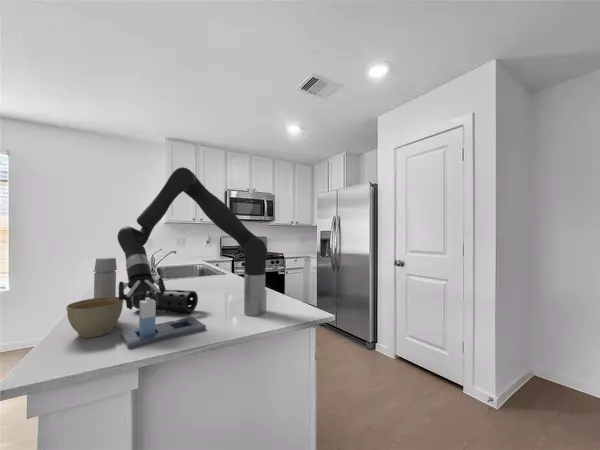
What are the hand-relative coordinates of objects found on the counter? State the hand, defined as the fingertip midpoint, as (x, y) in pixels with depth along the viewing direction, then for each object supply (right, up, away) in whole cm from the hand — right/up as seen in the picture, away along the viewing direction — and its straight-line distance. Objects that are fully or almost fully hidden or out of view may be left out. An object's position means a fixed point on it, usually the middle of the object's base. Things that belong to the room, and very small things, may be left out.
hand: (145, 305), depth 93 cm
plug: (+2, -10, -2) cm, 10 cm away
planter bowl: (-19, -10, +2) cm, 22 cm away
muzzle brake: (-7, -11, +27) cm, 30 cm away
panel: (+6, -10, +2) cm, 12 cm away
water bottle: (-25, -11, +15) cm, 31 cm away
